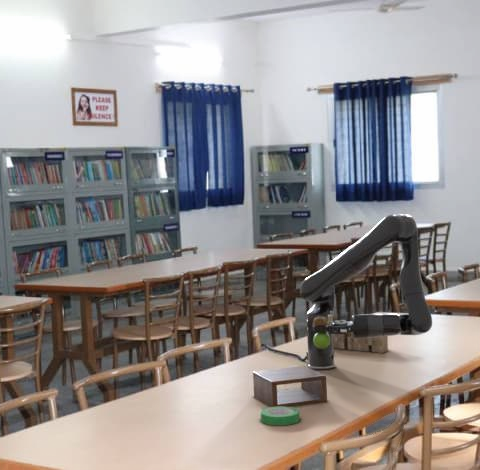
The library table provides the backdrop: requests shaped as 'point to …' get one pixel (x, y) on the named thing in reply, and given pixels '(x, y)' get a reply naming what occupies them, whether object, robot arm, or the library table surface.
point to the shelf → (307, 394)
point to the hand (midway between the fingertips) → (313, 328)
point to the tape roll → (280, 415)
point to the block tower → (360, 343)
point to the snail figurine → (322, 338)
